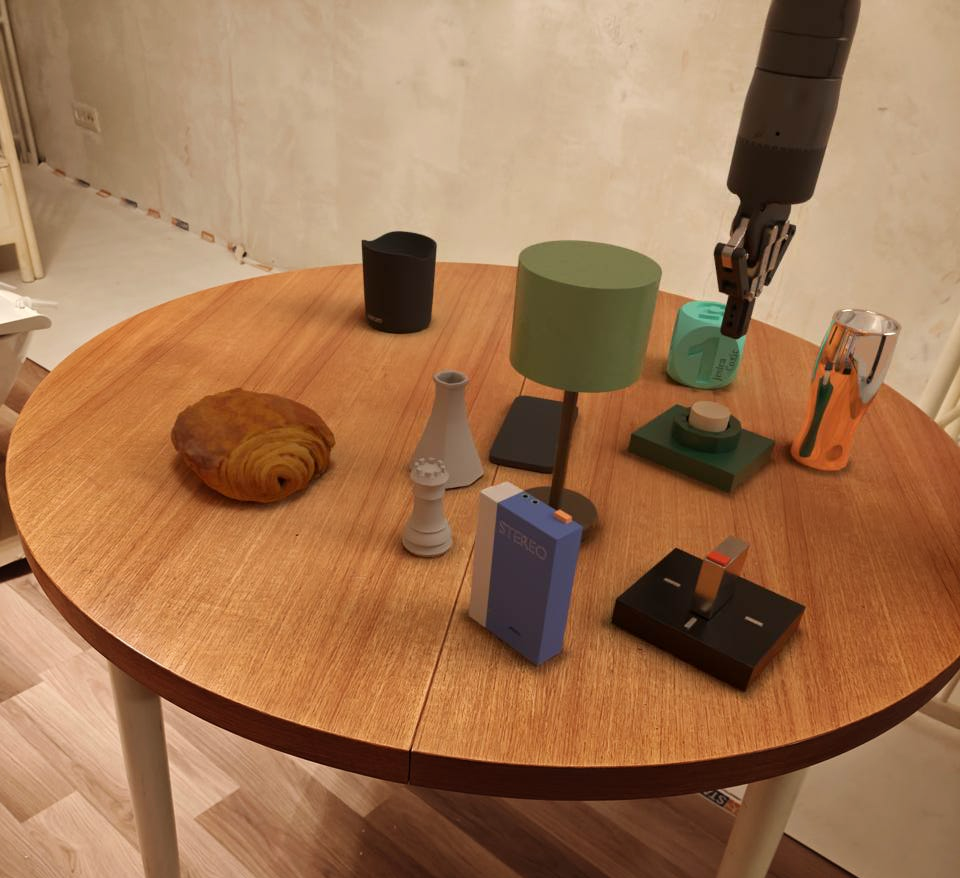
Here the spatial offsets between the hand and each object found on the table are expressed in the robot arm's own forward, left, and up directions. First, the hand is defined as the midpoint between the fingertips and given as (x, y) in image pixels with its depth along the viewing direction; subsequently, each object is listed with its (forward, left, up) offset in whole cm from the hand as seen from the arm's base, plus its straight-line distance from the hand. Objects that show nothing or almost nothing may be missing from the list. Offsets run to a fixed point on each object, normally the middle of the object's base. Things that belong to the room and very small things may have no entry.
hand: (732, 335), depth 86 cm
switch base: (0, 0, -13) cm, 13 cm away
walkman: (-3, +38, -14) cm, 40 cm away
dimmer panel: (-14, +26, -13) cm, 32 cm away
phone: (+15, +9, -13) cm, 22 cm away
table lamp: (+4, +22, -13) cm, 26 cm away
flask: (+17, +22, -13) cm, 31 cm away
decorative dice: (+10, -19, -13) cm, 25 cm away
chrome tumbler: (-9, -9, -13) cm, 19 cm away
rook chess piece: (+10, +33, -14) cm, 37 cm away
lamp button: (0, 0, -10) cm, 10 cm away
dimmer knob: (-14, +26, -11) cm, 31 cm away
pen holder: (+47, -4, -14) cm, 49 cm away
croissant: (+31, +34, -13) cm, 48 cm away
